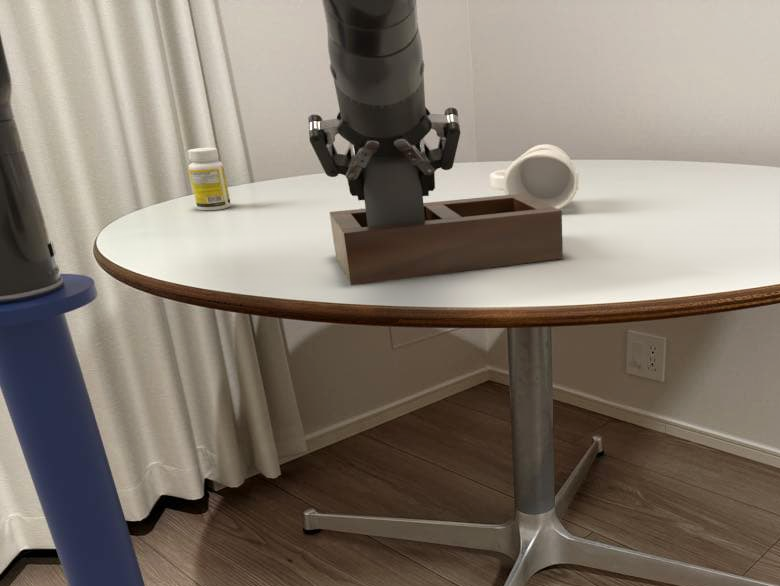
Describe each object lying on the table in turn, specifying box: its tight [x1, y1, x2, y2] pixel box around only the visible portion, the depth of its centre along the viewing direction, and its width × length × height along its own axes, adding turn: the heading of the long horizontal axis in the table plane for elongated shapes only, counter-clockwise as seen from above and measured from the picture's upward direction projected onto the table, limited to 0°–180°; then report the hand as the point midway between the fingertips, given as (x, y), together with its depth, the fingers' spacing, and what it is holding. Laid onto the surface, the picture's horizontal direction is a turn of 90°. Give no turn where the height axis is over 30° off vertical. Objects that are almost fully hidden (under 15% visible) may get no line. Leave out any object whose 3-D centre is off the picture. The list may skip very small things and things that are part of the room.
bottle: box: [361, 155, 425, 227], centre depth 80 cm, size 6×6×15 cm
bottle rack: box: [329, 194, 564, 286], centre depth 83 cm, size 12×22×5 cm, turn 110°
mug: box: [489, 143, 580, 210], centre depth 107 cm, size 12×9×8 cm
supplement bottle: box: [187, 147, 232, 211], centre depth 116 cm, size 5×5×8 cm
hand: (392, 190), depth 81 cm, fingers closed on bottle, 6 cm apart
